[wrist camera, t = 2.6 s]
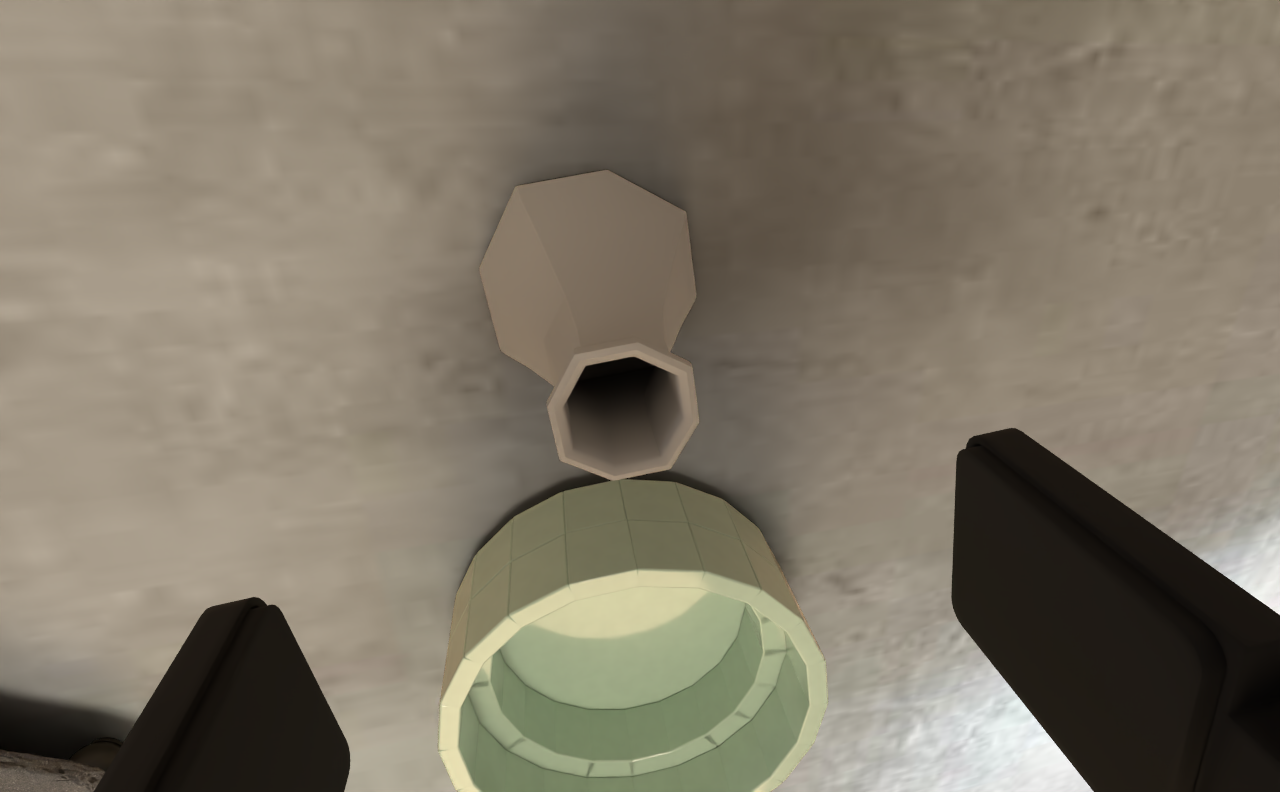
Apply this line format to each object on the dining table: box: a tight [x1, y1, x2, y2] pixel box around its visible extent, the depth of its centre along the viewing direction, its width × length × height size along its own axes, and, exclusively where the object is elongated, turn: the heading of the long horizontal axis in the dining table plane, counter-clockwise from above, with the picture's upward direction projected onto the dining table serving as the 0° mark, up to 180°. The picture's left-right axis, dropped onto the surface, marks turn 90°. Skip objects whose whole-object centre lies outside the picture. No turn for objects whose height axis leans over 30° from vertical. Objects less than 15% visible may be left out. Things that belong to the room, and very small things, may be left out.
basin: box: [438, 479, 828, 792], centre depth 27 cm, size 13×13×6 cm
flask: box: [479, 170, 700, 481], centre depth 19 cm, size 7×7×10 cm
